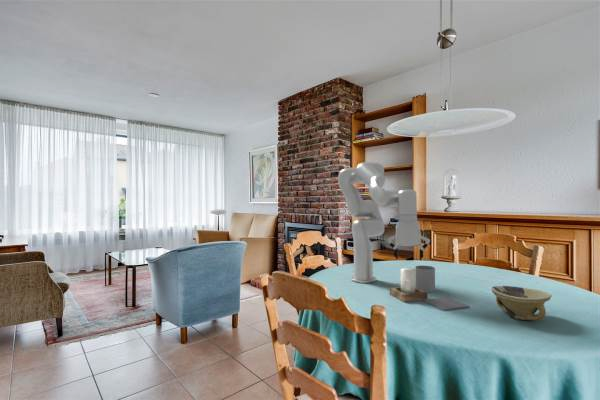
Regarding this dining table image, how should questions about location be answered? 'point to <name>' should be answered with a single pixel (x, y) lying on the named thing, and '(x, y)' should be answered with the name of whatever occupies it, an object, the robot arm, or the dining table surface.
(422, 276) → the cup
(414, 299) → the tray
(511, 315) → the bowl
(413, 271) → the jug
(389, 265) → the dining table surface
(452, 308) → the coaster
